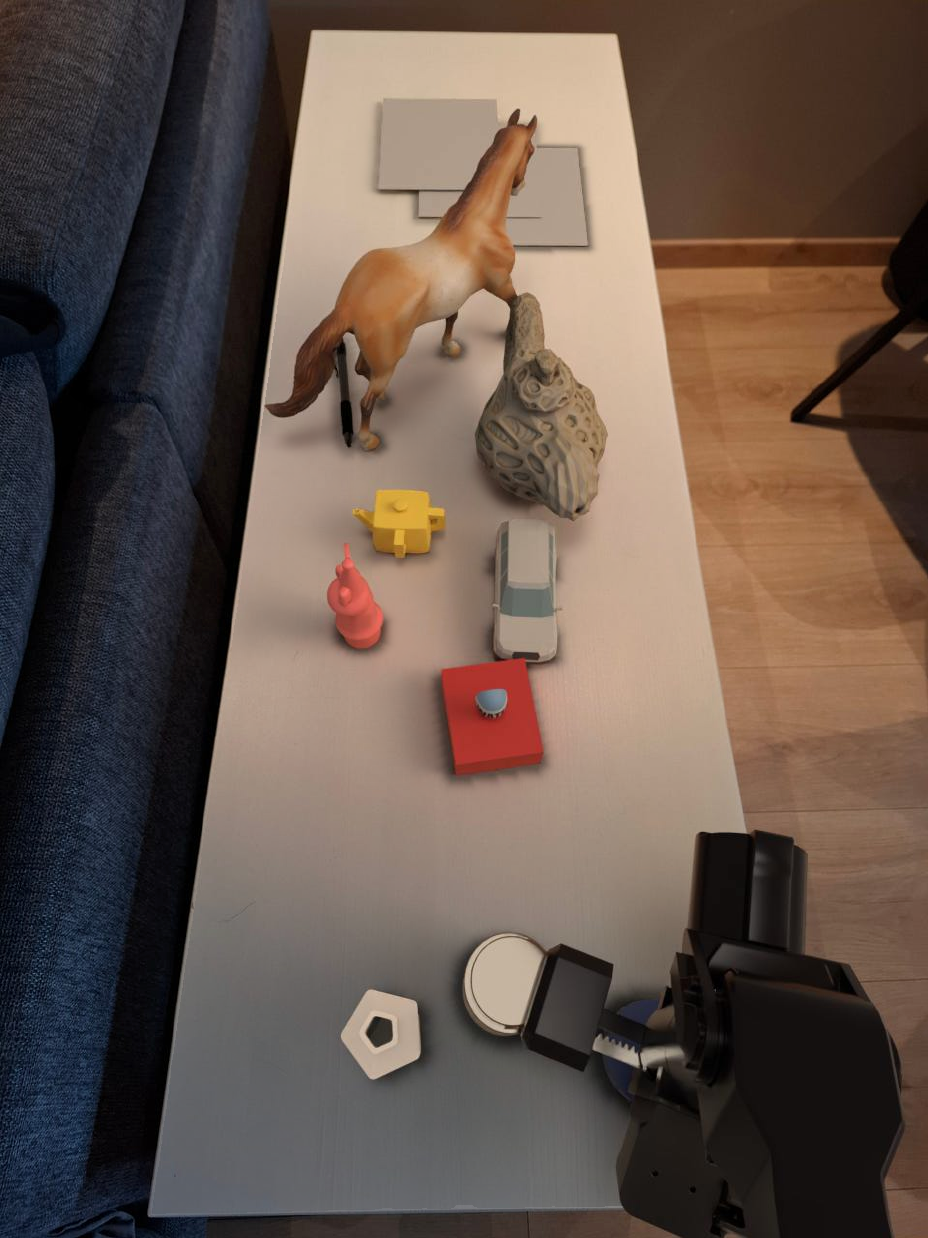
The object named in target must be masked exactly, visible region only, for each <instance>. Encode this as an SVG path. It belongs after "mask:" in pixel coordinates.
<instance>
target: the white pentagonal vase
mask: <svg viewBox="0 0 928 1238" xmlns="http://www.w3.org/2000/svg"><path fill="white" fill-rule="evenodd" d="M418 1012H419V1011H418V1003H417V1002H416V1001H415V1000H413V999H411V998H406V997H402V996H399V995H395V994H391V993H388V992H387V993H386V992H383V991H380V990H379V991H378V990H375V989H368V990H367V991H366V992H365V993H364V995H363V997H362V998H361V1000H360V1002H359V1003H358V1005H357V1006H356V1008H355V1009H354V1011H353V1013H352V1015H351V1017H349V1020H348V1021H347V1023H346V1025H345V1027H344V1028H343V1030H342V1032H341V1034H340V1039H341V1041H342V1043H343V1044H344V1045H345V1047H346V1048H347V1050H348V1051H349V1052H350V1054H351V1055H352V1056H353V1058H354V1059H355V1061H356V1062H357V1063H358V1065H359V1066H360V1068H361V1069H362V1071H363V1072H364V1073H365V1075H366V1076H367V1077H368V1078H369V1079H370V1080H376V1079H378V1078H381V1077H382V1076H385V1075H387V1074H389V1073H391V1072H393V1071H395V1070H397V1069H400V1068H403V1067H404V1066H406V1065H408V1064H410V1063H413V1062H414V1061H416V1060H418V1059H419V1058H420V1056H421V1053H422V1042H421V1041H422V1039H421V1038H422V1037H421V1022H420V1021H421V1020H420V1015H419V1013H418Z"/></svg>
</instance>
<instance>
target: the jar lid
mask: <svg viewBox="0 0 928 1238" xmlns="http://www.w3.org/2000/svg"><path fill="white" fill-rule="evenodd" d="M659 1002H660V998H659V999H655V998H654V999H653V998H648V999H646V998H645V999H644V998H640V999H638V1000H637V1001H633V1002H630V1003H627V1004H623V1005H622V1006H623V1007H621V1008H619V1009H618V1011H617V1012H615V1013H616V1014H618V1015H621V1016H623V1017H626V1018H628V1019H631V1020H633V1021H636V1022H638V1023H641V1024H643V1025H646V1023H647V1021H648V1019H649V1018H650V1017H651V1015H652V1014H653V1013H654V1012H655V1011H657V1010H658V1006H659ZM602 1034H603V1035H602V1037H603V1039H604V1038H605V1037H606V1036H609V1042H610V1041H611V1040H612V1038H614V1039H615V1044H616V1045H617V1043H618V1042H619V1041H622V1047H623V1046H624V1045H625V1044H628V1049H629V1050H630V1048H631V1047H632V1046H634V1047H635V1053H636V1052H637V1050H638V1049H640V1044H637V1043H635V1042H632V1041H630V1040H627V1039H625V1038H623V1037H620V1036H618V1035H615V1034H613V1033H610V1032H608V1031H605V1030H604V1031H603V1032H602ZM601 1056H602V1060H603V1061H602V1062H603V1066H604V1070H603V1071H604V1072H606V1074H607V1077H608V1079H609V1081H610V1083H611V1084H612V1085H613V1089H616V1091H618V1092H619V1094H620V1095H621V1096H623V1098H625V1099H626V1102H629V1103H632V1100H633V1096H634V1095H633V1094H631V1093H628V1088H629V1084H630V1080H631V1077H632V1073H633V1069H634V1068H635V1067H633V1066H630V1065H628V1064H626V1063H623V1062H621V1061H618V1060H616V1059H614V1058H611V1057H609V1056H606V1055H604V1054H601ZM637 1069H638V1068H637ZM639 1070H640V1069H639Z"/></svg>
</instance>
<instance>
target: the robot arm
mask: <svg viewBox="0 0 928 1238" xmlns="http://www.w3.org/2000/svg"><path fill="white" fill-rule="evenodd" d="M808 862H809V854H808V853H807V851H806V850H805V849H804V848H802V847H800V846H799V845H796V844H795V839H794V837H793V836H789V835H785V834H781V833H780V834H779V833H776V832H775V833H774V832H769V831H765V830H760V829H753V830H752V831H751V832H749V833H746V832H731V831H718V832H708V831H699V832H698V833H696V834H695V838H694V847H693V858H692V869H691V881H690V892H689V893H690V894H689V902H688V903H689V904H688V916H687V926H686V927H685V929H684V931H683V934H682V942H681V943H682V944H681V952H679V951H675V954H674V956H673V959H672V963H671V967H670V970H669V977H670V985H671V986H668V985H666V986H663V987H662V990H661V994H660V997H659V999H660V1002H659V1006H658V1010H657V1011H655V1012H654V1013H653V1014H652V1015H651V1017H650V1018H649V1019H648V1021H647V1023H646V1025H643V1024H641V1023H638V1022H636V1021H633V1020H631V1019H628V1018H626V1017H623V1016H621V1015H618V1014H616V1012H613V1011H611V1010H609V1009H606V1008H605V1005H606V1002H607V998H608V994H609V991H610V987H611V983H612V980H613V973H614V965H615V964H614V963H612V962H609V961H607V960H604V959H602V958H600V957H597V956H595V955H591V954H589V953H587V952H584V951H581V950H579V949H577V948H574V947H571V946H569V945H566V944H564V943H559V944H557V945H555V946H552V947H551V948H549V949H548V950H546V951H547V952H546V955H545V959H544V962H543V965H542V968H541V971H540V975H539V978H538V981H537V984H536V987H535V991H534V994H533V997H532V1000H531V1003H530V1007H529V1010H528V1013H527V1016H526V1019H525V1023H524V1026H523V1029H522V1032H521V1033H520V1034H519V1035H520V1036H519V1037H520V1039H521V1041H522V1044H523V1046H524V1048H525V1050H526V1051H528V1052H531V1053H533V1054H535V1055H538V1056H540V1057H543V1058H545V1059H547V1060H550V1061H552V1062H554V1063H556V1064H560V1065H562V1066H564V1067H566V1068H569V1069H572V1070H574V1071H577V1072H580V1073H584V1072H585V1070H586V1068H587V1065H588V1063H589V1061H590V1058H591V1056H592V1052H593V1051H594V1052H597V1053H599V1054H601V1055H602V1054H604V1055H606V1056H609V1057H611V1058H614V1059H616V1060H618V1061H621V1062H623V1063H626V1064H628V1065H630V1066H633V1067H635V1068H634V1069H633V1073H632V1077H631V1080H630V1084H629V1088H628V1093H631V1094H633V1095H634V1096H633V1100H632V1102H631V1105H630V1109H629V1113H628V1114H629V1117H630V1119H629V1123H628V1126H627V1129H626V1133H625V1135H624V1139H623V1142H622V1145H621V1148H620V1151H619V1153H618V1155H617V1158H616V1162H615V1175H616V1181H617V1189H618V1197H619V1202H620V1205H621V1207H622V1208H623V1211H625V1212H626V1213H627V1214H628V1215H629V1216H632V1217H634V1218H636V1219H638V1220H640V1221H643V1222H645V1223H647V1224H649V1225H652V1226H654V1227H656V1228H658V1229H660V1230H663V1231H665V1232H667V1233H670V1234H672V1235H674V1236H676V1237H679V1238H725V1236H726V1235H729V1234H730V1235H734V1236H736V1237H738V1238H896V1237H895V1233H894V1230H893V1224H892V1220H891V1214H890V1207H889V1202H888V1195H887V1189H886V1183H885V1182H886V1178H887V1175H888V1174H889V1170H890V1168H891V1166H892V1164H893V1161H894V1158H895V1156H896V1153H897V1150H898V1148H899V1146H900V1144H901V1142H902V1138H903V1136H904V1133H905V1130H906V1126H907V1125H906V1115H905V1112H904V1106H903V1101H902V1085H903V1083H902V1082H903V1077H902V1064H901V1059H900V1055H899V1049H898V1047H897V1045H896V1043H895V1041H894V1038H893V1036H892V1034H891V1033H890V1032H889V1030H888V1028H887V1026H886V1023H885V1021H884V1018H883V1016H882V1014H881V1013H880V1012H879V1010H878V1008H877V1006H876V1005H875V1004H874V1003H873V1002H872V1000H871V999H870V997H869V995H868V993H867V992H866V989H864V987H863V985H862V983H861V982H860V980H859V978H858V977H857V975H856V973H855V971H854V970H853V968H852V966H851V965H850V964H849V963H846V962H841V961H837V960H833V959H827V958H823V957H818V956H814V955H809V954H806V932H807V902H808V901H807V898H808V897H807V895H808V870H809V869H808V865H809V863H808ZM599 1029H601V1030H603V1031H604V1032H605V1031H608V1032H610V1033H613V1034H615V1035H618V1036H620V1037H623V1038H625V1039H627V1040H630V1041H632V1042H635V1043H637V1044H640V1049H638V1050H637V1052H636V1053H635V1047H634V1046H632V1047H631V1048H630V1050H629V1049H628V1044H625V1045H624V1046H623V1047H622V1041H619V1042H618V1043H617V1045H616V1044H615V1039H614V1038H612V1040H611V1041H610V1042H609V1036H606V1037H605V1038H604V1039H603V1032H599V1033H598V1030H599ZM597 1034H598V1035H597ZM637 1068H638V1069H637ZM639 1069H640V1070H639Z"/></svg>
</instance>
